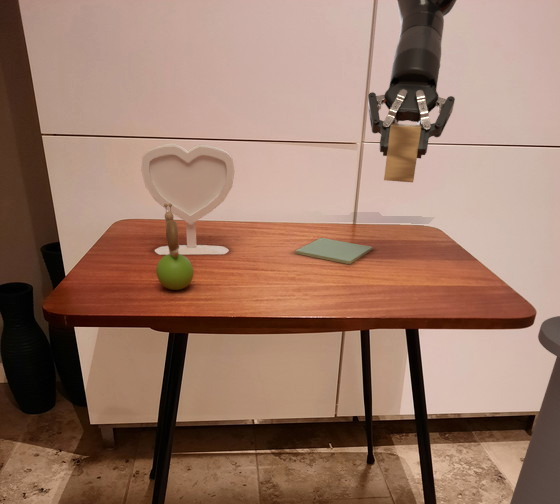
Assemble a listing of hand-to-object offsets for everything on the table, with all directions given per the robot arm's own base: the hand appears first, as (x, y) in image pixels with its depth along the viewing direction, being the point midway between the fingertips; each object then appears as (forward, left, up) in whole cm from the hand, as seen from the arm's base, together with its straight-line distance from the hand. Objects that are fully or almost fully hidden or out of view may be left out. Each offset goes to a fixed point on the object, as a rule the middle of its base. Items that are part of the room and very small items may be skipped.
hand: (402, 153), depth 85 cm
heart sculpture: (+34, +10, -19) cm, 40 cm away
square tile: (+12, -5, -19) cm, 23 cm away
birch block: (+1, -2, -4) cm, 5 cm away
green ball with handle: (+24, +27, -19) cm, 41 cm away
